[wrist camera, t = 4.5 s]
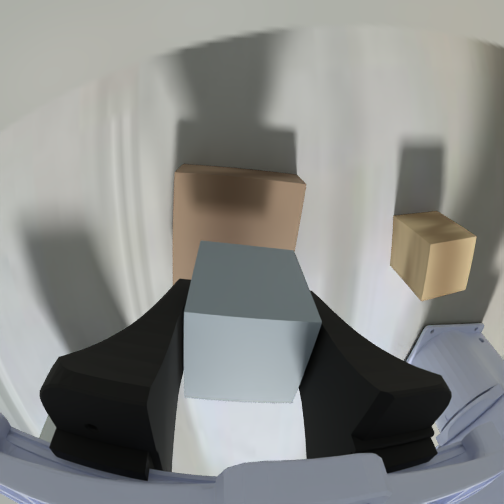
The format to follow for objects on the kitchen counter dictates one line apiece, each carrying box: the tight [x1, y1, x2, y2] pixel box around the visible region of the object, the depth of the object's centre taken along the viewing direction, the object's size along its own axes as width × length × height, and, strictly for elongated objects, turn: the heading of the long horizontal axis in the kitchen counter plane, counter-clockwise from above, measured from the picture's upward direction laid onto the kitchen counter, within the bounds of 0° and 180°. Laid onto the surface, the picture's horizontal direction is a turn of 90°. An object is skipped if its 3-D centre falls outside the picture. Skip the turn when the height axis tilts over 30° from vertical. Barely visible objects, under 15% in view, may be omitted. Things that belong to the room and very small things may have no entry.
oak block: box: [390, 211, 477, 301], centre depth 19 cm, size 4×4×5 cm
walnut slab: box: [173, 164, 306, 285], centre depth 18 cm, size 7×7×3 cm
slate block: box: [184, 241, 322, 403], centre depth 12 cm, size 4×4×5 cm
